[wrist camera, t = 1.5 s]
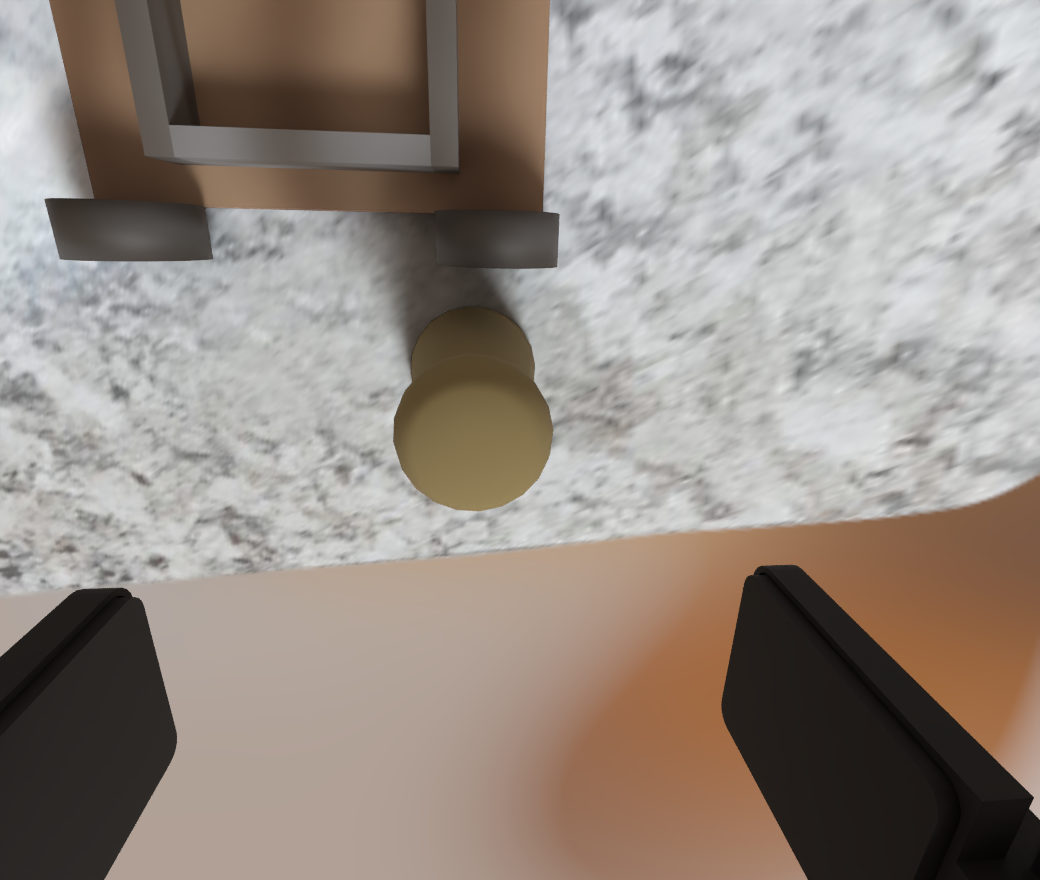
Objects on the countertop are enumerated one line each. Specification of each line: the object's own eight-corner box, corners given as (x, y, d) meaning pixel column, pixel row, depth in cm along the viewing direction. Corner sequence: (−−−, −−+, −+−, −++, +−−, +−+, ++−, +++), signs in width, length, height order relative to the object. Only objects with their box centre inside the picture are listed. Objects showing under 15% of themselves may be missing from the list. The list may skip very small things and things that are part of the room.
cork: (517, 439, 28) (542, 556, 18) (399, 412, 27) (355, 520, 17) (549, 324, 26) (599, 381, 16) (424, 291, 25) (392, 329, 15)
